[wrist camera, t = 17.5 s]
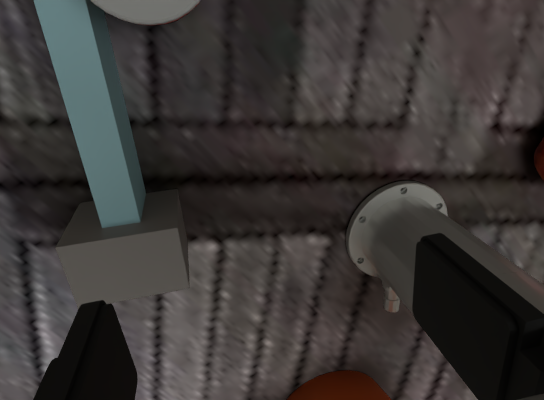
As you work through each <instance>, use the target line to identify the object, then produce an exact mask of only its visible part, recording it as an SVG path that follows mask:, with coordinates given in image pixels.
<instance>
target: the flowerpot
mask: <svg viewBox="0 0 544 400" xmlns="http://www.w3.org/2000/svg"><path fill="white" fill-rule="evenodd" d="M287 400H391V399H390V397H389V396H388V395H387V394H386V393H385V392H384V391H383V390H382V389H381V388H380V386H379V385H378V384H377V383H376V382H375V381H374V380H373V379H372V378H371V377H369V376H368V375H366V374H364V373H361V372H358V371H351V370H344V371H335V372H330V373H326V374H323V375H320V376H318V377H316V378H314V379H311V380H309V381H308V382H306V383H305V384H303V385H301V386H300V387H299V388H298V389H296V390H295V391H294V392H293V393H292V394H291V395H290V396H289V397H288V398H287Z"/></svg>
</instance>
